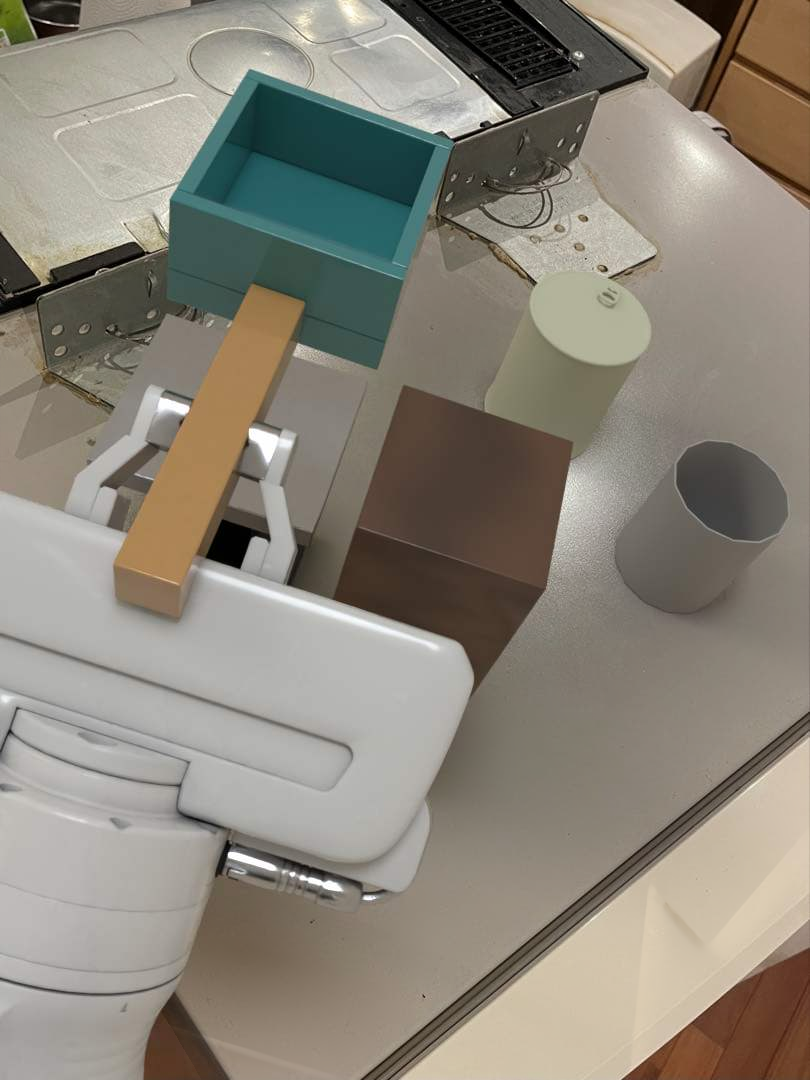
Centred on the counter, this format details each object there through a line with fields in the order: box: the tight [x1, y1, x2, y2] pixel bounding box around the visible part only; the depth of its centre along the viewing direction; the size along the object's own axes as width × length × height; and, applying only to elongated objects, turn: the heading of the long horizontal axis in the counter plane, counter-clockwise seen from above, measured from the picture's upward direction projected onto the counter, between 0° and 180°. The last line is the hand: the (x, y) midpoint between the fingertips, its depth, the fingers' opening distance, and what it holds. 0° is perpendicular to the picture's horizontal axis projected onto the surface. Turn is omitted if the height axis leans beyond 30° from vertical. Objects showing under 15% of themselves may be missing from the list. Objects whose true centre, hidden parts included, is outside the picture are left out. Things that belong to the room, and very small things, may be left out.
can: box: [483, 269, 652, 460], centre depth 75 cm, size 9×9×12 cm
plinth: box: [331, 384, 573, 702], centre depth 52 cm, size 10×8×26 cm
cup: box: [615, 438, 791, 614], centre depth 70 cm, size 8×8×10 cm
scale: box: [86, 313, 369, 587], centre depth 60 cm, size 12×11×16 cm
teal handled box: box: [113, 68, 454, 618], centre depth 33 cm, size 8×20×4 cm, turn 166°
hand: (226, 411), depth 32 cm, fingers closed on teal handled box, 2 cm apart
